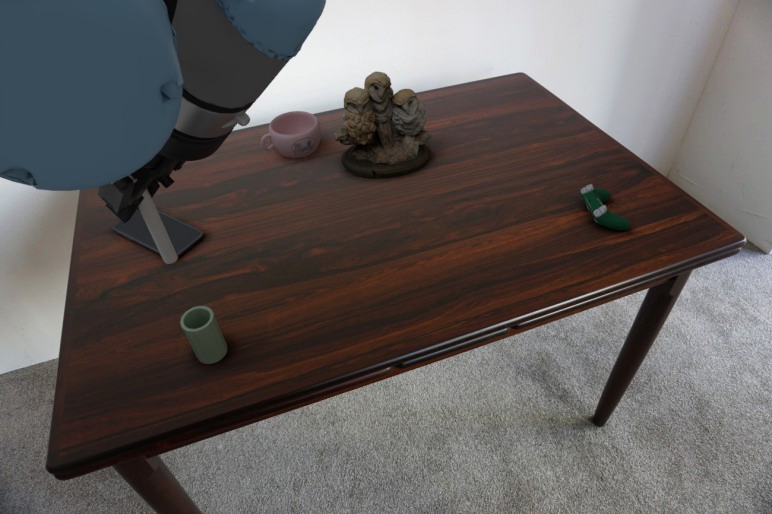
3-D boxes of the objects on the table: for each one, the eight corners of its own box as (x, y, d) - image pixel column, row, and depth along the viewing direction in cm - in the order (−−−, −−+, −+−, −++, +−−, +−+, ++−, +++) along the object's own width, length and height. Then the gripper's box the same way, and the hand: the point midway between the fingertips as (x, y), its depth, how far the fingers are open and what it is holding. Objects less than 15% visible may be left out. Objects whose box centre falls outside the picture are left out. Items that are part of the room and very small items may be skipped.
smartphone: (171, 259, 81) (108, 227, 87) (173, 263, 82) (111, 231, 87) (206, 231, 85) (144, 202, 91) (207, 236, 86) (146, 207, 92)
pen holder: (202, 369, 67) (185, 336, 62) (193, 347, 70) (176, 314, 65) (231, 355, 69) (217, 322, 64) (221, 334, 71) (207, 301, 66)
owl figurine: (342, 186, 94) (332, 98, 82) (332, 151, 102) (321, 67, 90) (438, 170, 97) (441, 82, 85) (421, 137, 105) (421, 53, 93)
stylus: (167, 269, 61) (120, 169, 51) (163, 261, 62) (116, 162, 52) (181, 263, 62) (136, 164, 52) (177, 255, 62) (133, 156, 53)
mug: (312, 131, 108) (308, 105, 104) (331, 154, 102) (327, 127, 97) (257, 147, 104) (250, 121, 100) (272, 172, 98) (266, 145, 94)
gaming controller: (591, 206, 90) (572, 189, 87) (610, 192, 88) (591, 174, 85) (613, 242, 84) (593, 225, 81) (634, 227, 82) (614, 209, 79)
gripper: (159, 185, 37) (99, 273, 55) (282, 95, 46) (196, 195, 64) (75, 101, 35) (41, 220, 53) (220, 24, 44) (149, 147, 62)
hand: (125, 206), depth 58 cm, fingers closed on stylus, 1 cm apart
